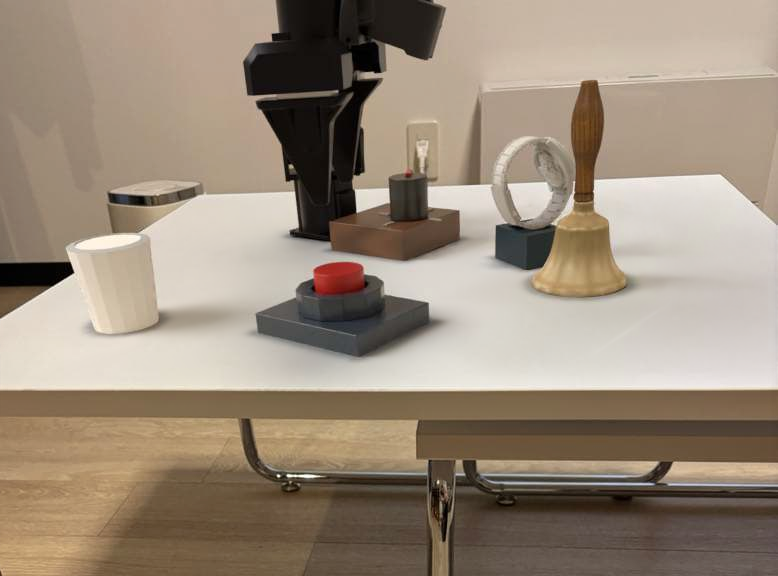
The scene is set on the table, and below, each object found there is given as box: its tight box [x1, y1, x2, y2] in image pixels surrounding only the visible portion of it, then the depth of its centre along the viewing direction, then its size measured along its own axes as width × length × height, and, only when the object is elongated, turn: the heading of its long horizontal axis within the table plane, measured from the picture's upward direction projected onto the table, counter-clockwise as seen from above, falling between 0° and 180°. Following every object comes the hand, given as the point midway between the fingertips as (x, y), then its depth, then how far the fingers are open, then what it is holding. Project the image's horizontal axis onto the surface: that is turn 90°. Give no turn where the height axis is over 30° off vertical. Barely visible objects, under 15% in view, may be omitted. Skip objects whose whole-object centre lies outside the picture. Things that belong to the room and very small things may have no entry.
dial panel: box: [329, 202, 461, 262], centre depth 88 cm, size 11×10×3 cm
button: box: [312, 261, 365, 294], centre depth 66 cm, size 4×4×2 cm
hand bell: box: [531, 79, 628, 298], centre depth 69 cm, size 8×8×16 cm
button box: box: [254, 273, 430, 358], centre depth 67 cm, size 11×9×4 cm
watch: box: [490, 135, 576, 271], centre depth 78 cm, size 6×8×11 cm
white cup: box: [65, 232, 160, 335], centre depth 71 cm, size 7×7×7 cm
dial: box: [388, 169, 429, 221], centre depth 86 cm, size 4×4×4 cm
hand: (334, 192), depth 62 cm, fingers open, 9 cm apart
